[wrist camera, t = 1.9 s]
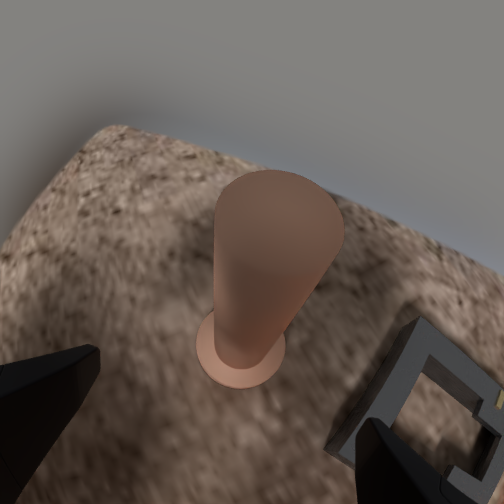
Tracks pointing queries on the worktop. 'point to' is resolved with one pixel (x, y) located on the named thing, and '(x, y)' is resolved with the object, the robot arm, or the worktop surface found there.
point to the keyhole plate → (447, 377)
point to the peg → (264, 271)
